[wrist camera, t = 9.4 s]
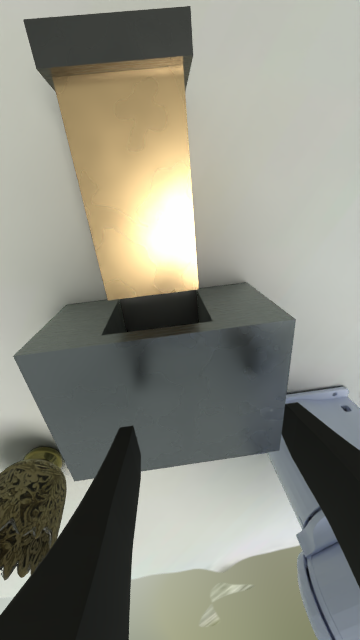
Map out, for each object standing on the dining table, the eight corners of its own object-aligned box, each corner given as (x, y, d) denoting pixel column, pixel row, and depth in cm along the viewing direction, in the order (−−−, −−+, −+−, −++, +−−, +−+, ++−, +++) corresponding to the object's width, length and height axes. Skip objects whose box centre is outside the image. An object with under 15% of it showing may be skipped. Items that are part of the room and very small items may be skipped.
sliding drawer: (177, 89, 13) (190, 6, 8) (192, 269, 17) (206, 291, 12) (77, 98, 13) (23, 19, 8) (117, 278, 17) (99, 305, 12)
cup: (94, 468, 25) (68, 569, 18) (31, 483, 26) (-20, 590, 18) (64, 422, 22) (18, 522, 15) (-8, 440, 22) (-87, 547, 15)
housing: (247, 282, 18) (295, 319, 11) (244, 383, 22) (279, 450, 16) (66, 304, 17) (13, 356, 11) (99, 403, 22) (74, 481, 15)
